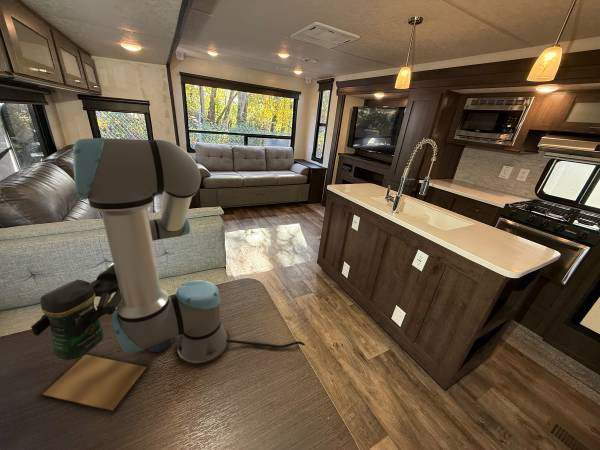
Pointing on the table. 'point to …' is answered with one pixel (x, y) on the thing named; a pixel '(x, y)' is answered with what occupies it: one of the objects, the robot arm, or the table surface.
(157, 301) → the robot arm
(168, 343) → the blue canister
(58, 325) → the coffee jar
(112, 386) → the cork mat
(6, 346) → the table surface
